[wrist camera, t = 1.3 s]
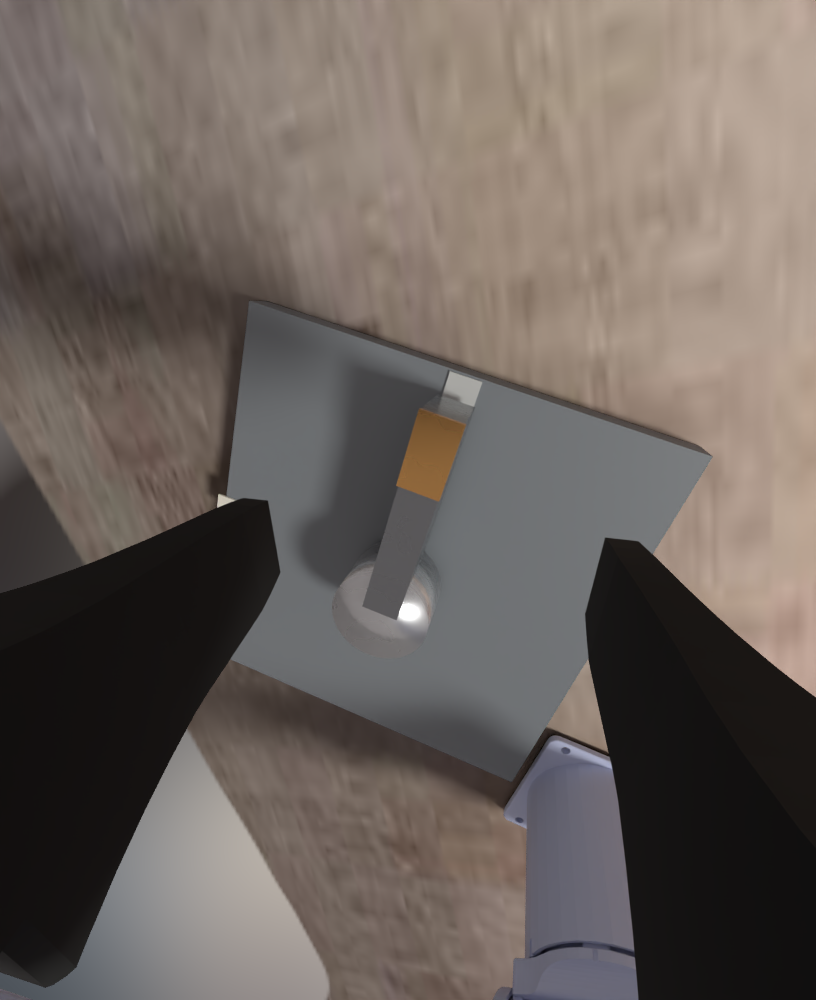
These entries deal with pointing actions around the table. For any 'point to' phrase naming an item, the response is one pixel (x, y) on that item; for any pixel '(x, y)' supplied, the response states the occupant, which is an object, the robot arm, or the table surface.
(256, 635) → the board
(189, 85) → the table surface
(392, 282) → the table surface
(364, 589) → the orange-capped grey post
